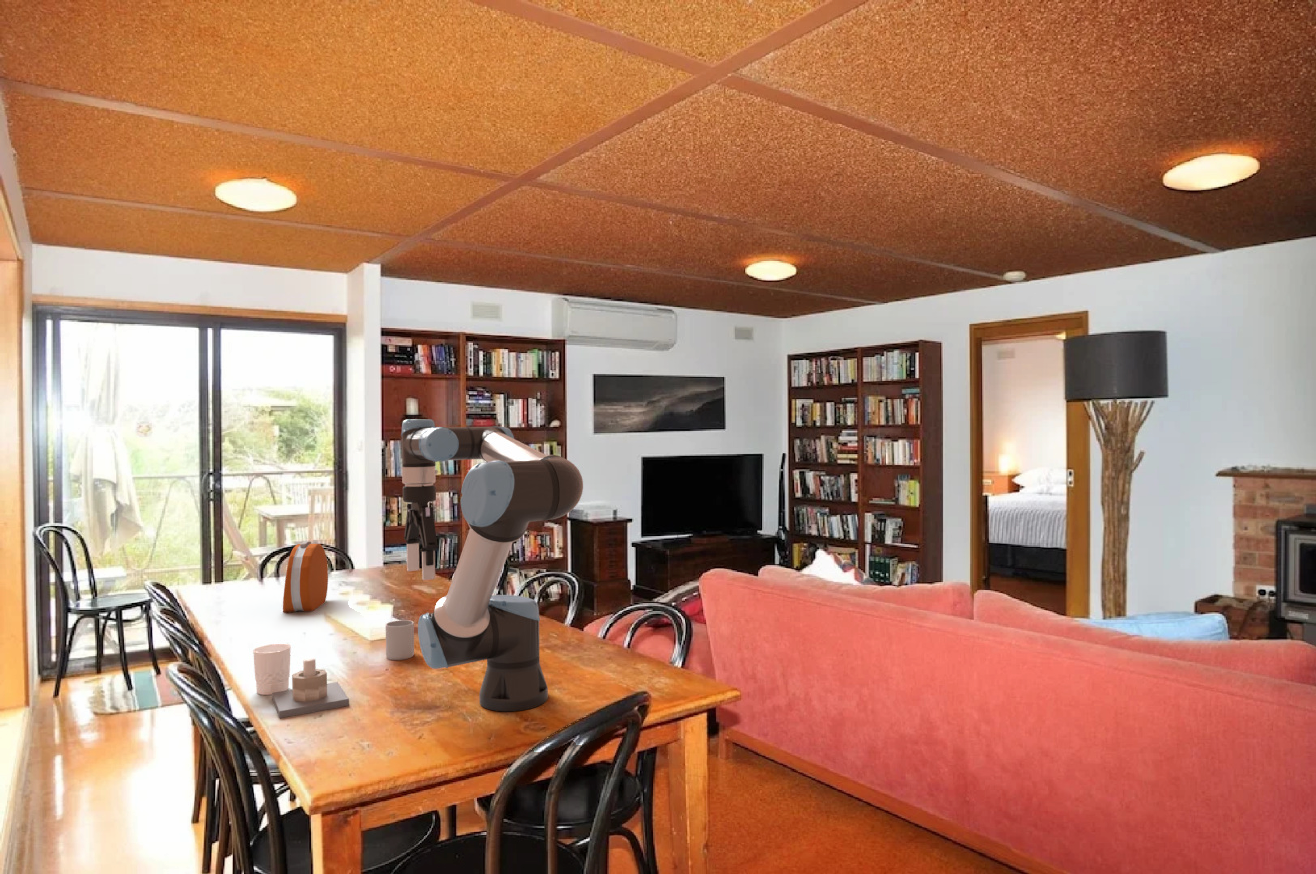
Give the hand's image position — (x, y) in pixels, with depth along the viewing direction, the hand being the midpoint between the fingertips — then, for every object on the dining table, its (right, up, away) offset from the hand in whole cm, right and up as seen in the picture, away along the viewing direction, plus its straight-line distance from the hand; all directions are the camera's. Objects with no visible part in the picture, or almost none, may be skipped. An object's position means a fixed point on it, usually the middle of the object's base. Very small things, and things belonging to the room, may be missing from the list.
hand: (420, 575), depth 187 cm
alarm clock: (-67, -27, +88) cm, 114 cm away
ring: (-22, -26, -9) cm, 35 cm away
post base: (-22, -27, -9) cm, 36 cm away
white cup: (-35, -27, 0) cm, 44 cm away
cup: (-14, -27, +28) cm, 41 cm away
